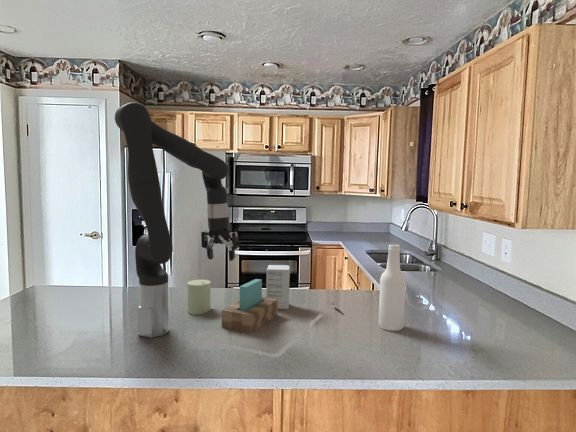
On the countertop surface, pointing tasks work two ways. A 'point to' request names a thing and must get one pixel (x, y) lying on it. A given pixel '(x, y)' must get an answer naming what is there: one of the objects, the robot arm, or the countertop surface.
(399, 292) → the alcohol
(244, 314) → the slot box
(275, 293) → the supplement box
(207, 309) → the can
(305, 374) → the countertop surface
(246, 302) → the cover plate
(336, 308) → the fork
